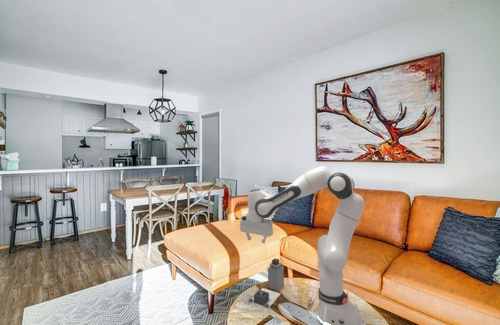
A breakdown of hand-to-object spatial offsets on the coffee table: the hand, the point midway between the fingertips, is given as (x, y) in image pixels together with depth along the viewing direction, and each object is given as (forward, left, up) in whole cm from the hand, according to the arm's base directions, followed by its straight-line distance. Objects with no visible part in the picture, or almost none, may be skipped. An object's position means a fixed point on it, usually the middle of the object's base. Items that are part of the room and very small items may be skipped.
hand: (256, 241), depth 145 cm
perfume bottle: (-7, -10, -31) cm, 34 cm away
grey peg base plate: (-7, +3, -31) cm, 32 cm away
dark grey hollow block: (-7, +7, -29) cm, 31 cm away
